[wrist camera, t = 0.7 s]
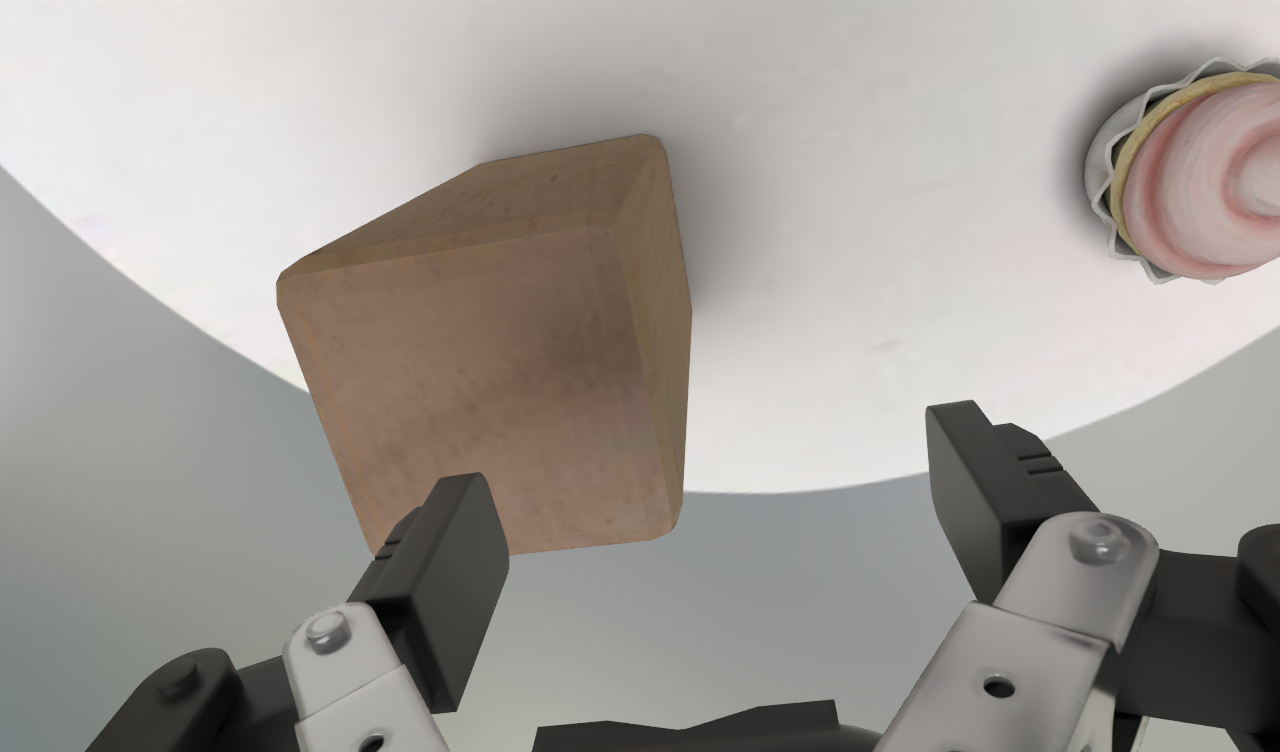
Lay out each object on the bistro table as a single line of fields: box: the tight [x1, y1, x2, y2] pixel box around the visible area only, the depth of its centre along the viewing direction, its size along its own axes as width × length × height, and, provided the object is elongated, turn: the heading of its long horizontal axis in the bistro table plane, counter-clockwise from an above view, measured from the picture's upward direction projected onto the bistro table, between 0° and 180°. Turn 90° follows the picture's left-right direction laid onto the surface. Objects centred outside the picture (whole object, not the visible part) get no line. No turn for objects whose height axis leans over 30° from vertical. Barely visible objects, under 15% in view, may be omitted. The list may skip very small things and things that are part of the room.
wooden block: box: [276, 134, 692, 556], centre depth 30 cm, size 10×10×20 cm
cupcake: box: [1084, 56, 1280, 285], centre depth 31 cm, size 9×9×10 cm
